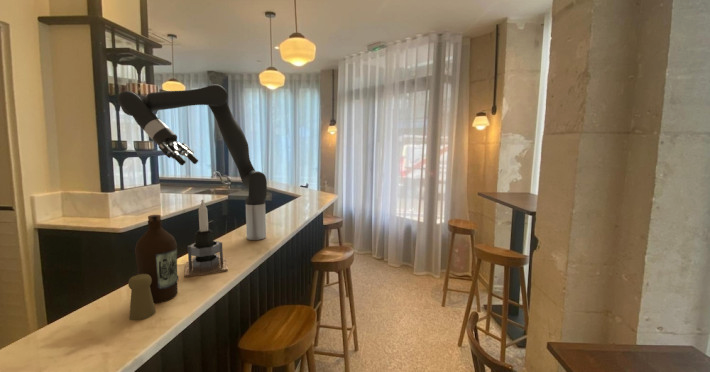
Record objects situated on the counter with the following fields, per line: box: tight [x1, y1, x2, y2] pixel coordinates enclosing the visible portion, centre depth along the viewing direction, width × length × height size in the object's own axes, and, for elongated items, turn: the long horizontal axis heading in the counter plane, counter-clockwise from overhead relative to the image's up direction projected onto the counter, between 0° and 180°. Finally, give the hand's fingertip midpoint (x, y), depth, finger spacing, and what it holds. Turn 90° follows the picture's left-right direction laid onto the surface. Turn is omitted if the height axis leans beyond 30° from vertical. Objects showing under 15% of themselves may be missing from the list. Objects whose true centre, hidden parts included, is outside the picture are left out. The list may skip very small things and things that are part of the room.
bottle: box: [194, 199, 215, 261], centre depth 119 cm, size 5×5×25 cm
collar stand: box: [183, 240, 228, 278], centre depth 120 cm, size 14×14×9 cm
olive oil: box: [134, 214, 179, 304], centre depth 96 cm, size 11×11×25 cm
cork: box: [127, 273, 157, 321], centre depth 86 cm, size 6×6×11 cm
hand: (190, 163), depth 127 cm, fingers open, 8 cm apart
